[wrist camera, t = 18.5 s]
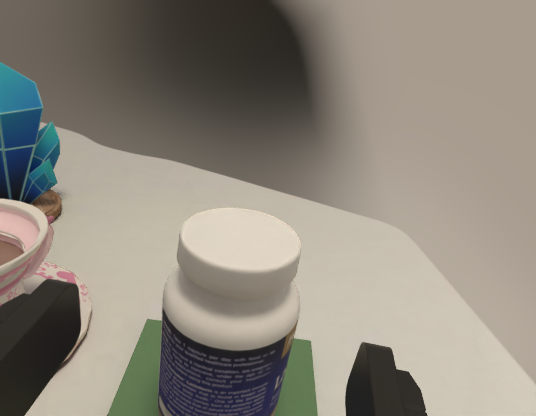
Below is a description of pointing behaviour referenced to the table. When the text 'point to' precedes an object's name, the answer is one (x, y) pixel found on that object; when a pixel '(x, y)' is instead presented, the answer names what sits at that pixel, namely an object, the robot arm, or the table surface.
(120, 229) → the table surface
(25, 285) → the teacup
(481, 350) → the table surface
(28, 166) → the gemstone
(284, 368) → the pill bottle
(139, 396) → the medicine mat
